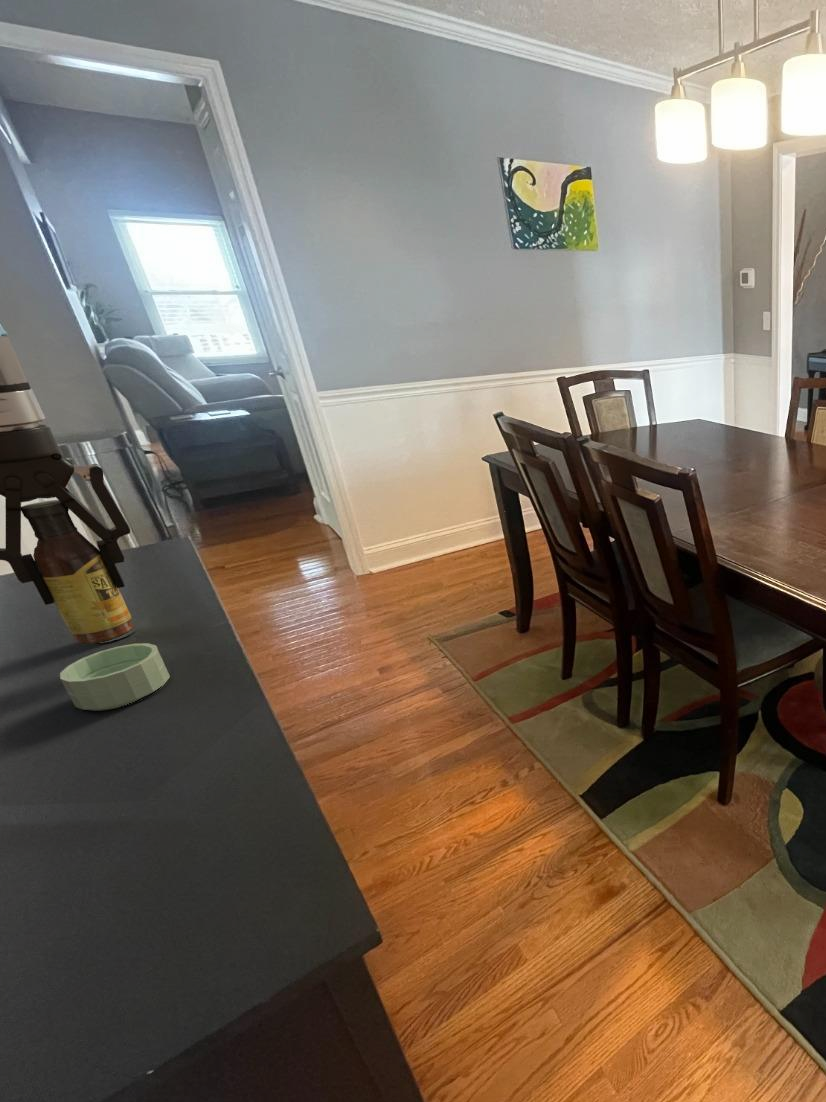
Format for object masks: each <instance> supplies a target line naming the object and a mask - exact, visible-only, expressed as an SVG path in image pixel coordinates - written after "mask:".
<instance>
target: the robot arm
mask: <svg viewBox="0 0 826 1102" xmlns="http://www.w3.org/2000/svg"><path fill="white" fill-rule="evenodd" d="M45 419H46V416H45V414H44V412H43V410H42V408H41V406H40V403H39V401H38V399H37V397H36V395H35V393H34V391H33V388H32V387H31V386H30V383H29V382H28V380H27V377H26V374H25V372H24V371H23V368H22V366H21V364H20V362H19V358H18V357H17V354H16V352H15V349H14V348H13V345H12V343H11V341H10V339H9V334H8V332H7V331H6V330H5V329H4V328H3V326H2V324H1V323H0V496H2V497H4V498H5V506H4V507H5V547H4V548H3V547H0V561H4V562H7V563H8V564H9V566H10V568H11V569H12V570H13V573H14V574H15V576H16V578H17V580H18V581H19V582H20V583H22V584H26V583H30V582H31V583H32V582H33V584H34V586H35V588H36V590H37V591H38V594H39V596H40V598H41V599H42V601H43V603H44V605H45V606H48V605H51V604H55V602H54V600H53V598H52V596H51V595H50V593H49V591H48V589H47V587H46V585H45V583H44V581H43V579H42V577H41V572H40V570H39V568H38V567H37V565H36V563H35V560H34V557H33V555H32V554H31V553H28V554H27V553H26V554H22V511H21V507H22V503H27V502H31V501H32V502H33V501H34V500H37V499H53V498H54V499H55V498H56V500H59V501H60V502H62V503H63V504H64V505H65V506H66V507H68V509H69V511H71V512H72V514H74V515H75V517H77V518H78V519H79V520H80V521H81V522H82V523H83V524H84V525H85V526H87V527H88V528H89V529H90V530H91V531H92V532H93V533H94V534H95V535H96V536H97V537H98V538H99V539H100V540H96V545H97V549H98V550H99V551H100V552H101V554H102V556H103V559H104V561H105V563H106V565H107V567H108V569H109V571H110V573H111V575H112V577H113V580H114V582H115V584H116V586H117V588H118V589H120V588H124V587H126V585H125V581H124V580H123V577H122V575H121V573H120V571H119V569H118V567H117V564H120V563H124V562H125V556H124V554H123V551H122V549H121V547H120V545H119V543H118V540H119V539H120V538H123V536H127V535H129V534H130V533H131V528H130V526H129V523H128V521H127V520H126V519H125V516H124V515H123V513H122V511H121V509H120V508H119V505H117V503H116V501H115V500H114V497H113V496H112V494H111V492H110V490H109V489H108V487H107V486H106V484H105V482H104V480H105V479H104V470H103V467H102V465H100V464H98V463H92V464H89V465H88V464H73V463H72V461H69V459H67V458H66V457H65V456H64V454H63V453H62V451H61V449H60V447H59V444H58V442H57V440H56V438H55V435H54V434H53V432H52V430H51V427H49V426H48V425H46V424H42V423H41V422H43V421H44V420H45ZM73 474H78V475H79V476H80V478H81V479H82V481H85V482H90V485H91V487H92V489H93V492H94V493H95V495H96V496H97V498H98V500H99V501H100V503H101V505H102V507H103V508H104V510H105V512H106V514H107V515H108V517H109V519H110V520H111V522H112V524H113V525H114V527H111V528H109V527H107V526H106V524H105V523H103V522H102V520H100V519H99V518H98V517H97V516H96V515H95V514H94V513H93V512H92V511H91V510H90V509H89V508H88V507H87V506H86V505H85V504H83V503H82V502H81V501H80V499H78V498H77V497H76V496H75V495H74V493H73V492H71V490H70V489H68V488H67V486H68V484H69V482H70V480H71V478H72V476H73Z"/></svg>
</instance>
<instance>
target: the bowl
mask: <svg viewBox="0 0 826 1102" xmlns="http://www.w3.org/2000/svg"><path fill="white" fill-rule="evenodd" d="M170 675H171V674H170V672H169V670H168V668H167V666H166V664H165V661H164V659H163V657H162V655H161V652H160V650H159V648H158V646H157V645H155V644H152V643H149V642H147V643H146V642H144V643H131V644H130V643H129V644H125V645H120V646H115V647H111V648H108V649H103V650H100V651H97V652H95V653H92V654H90V655H86V656H84V657H82V658H80V659H78V660H76V661H74V662H72V663H71V664H69V665H66V667H64V669H63V670H62V671H60V672H59V680H60V682H61V683H62V685H63V687H64V688H65V691H66V692H67V694H68V696H69V698H70V699H71V702H72V704H73V705H74V707H75V708H78V709H80V710H83V711H85V710H86V711H95V712H96V711H97V712H98V711H99V712H101V711H107V710H108V711H109V710H113V709H118V708H122V707H125V706H127V704H128V705H130V704H129V703H131V704H133V703H132V702H134V701H136V700H138V699H140V698H142V697H144V696H146V695H148V694H150V693H152V692H154V691H155V690H157V689H158V688H160V687H161V686H162V687H164V685H165V684H166V683H167V682H168V680H169V679H170V678H171V676H170ZM162 687H161V688H162ZM161 688H160V689H161ZM134 703H135V702H134ZM124 705H125V706H124ZM121 706H122V707H121Z"/></svg>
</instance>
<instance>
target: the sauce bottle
mask: <svg viewBox="0 0 826 1102" xmlns="http://www.w3.org/2000/svg"><path fill="white" fill-rule="evenodd" d="M69 511H70V509H69V508H68V507H66V506H65V505H64V504H63V503H62V502H60V501H59V500H58V499H50V500H43V501H38V502H34V503H33V502H32V503H28V504H25V505H21V514H22V516H23V517H24V518H25V519H26V520H27V521H28V523H29V525H30V526H31V529H32V530H33V532H34V537H35V538H36V539H37V542H36V546H35V547H34V548H33V555H32V557H33V559H34V561H35V563H36V565H37V567H38V568H39V570H40V572H41V577H42V579H43V581H44V583H45V585H46V587H47V589H48V591H49V593H50V595H51V596H52V598H53V600H54V604H55V606H56V609H57V611H58V613H59V614H60V616H61V618H62V620H63V622H64V624H65V626H66V628H67V629H68V631H69V634H71V635H72V636H73V638H74V640H75V642H76V643H78V644H81V645H94V644H95V643H100V642H105V641H109V640H112V639H114V638H117V637H120V636H122V635H124V634H126V633H128V632H129V631H131V630H132V629H133V625H134V622H133V620H132V615H131V613H130V611H129V608H128V606H127V604H126V602H125V600H124V597H123V595H122V593H121V592H120V588H117V586H116V584H115V582H114V580H113V577H112V575H111V573H110V571H109V569H108V567H107V565H106V563H105V561H104V559H103V556H102V554H101V552H100V550H99V548H98V547H96V546H95V545H94V544H93V543H92V542H90V541H89V540H88V539H87V538H86V537H85V536H84V535H83V534H81V532H80V531H79V530H78V527H77V526H75V524H74V522H73V520H72V517H71V516H70V514H69ZM95 645H96V644H95Z"/></svg>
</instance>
